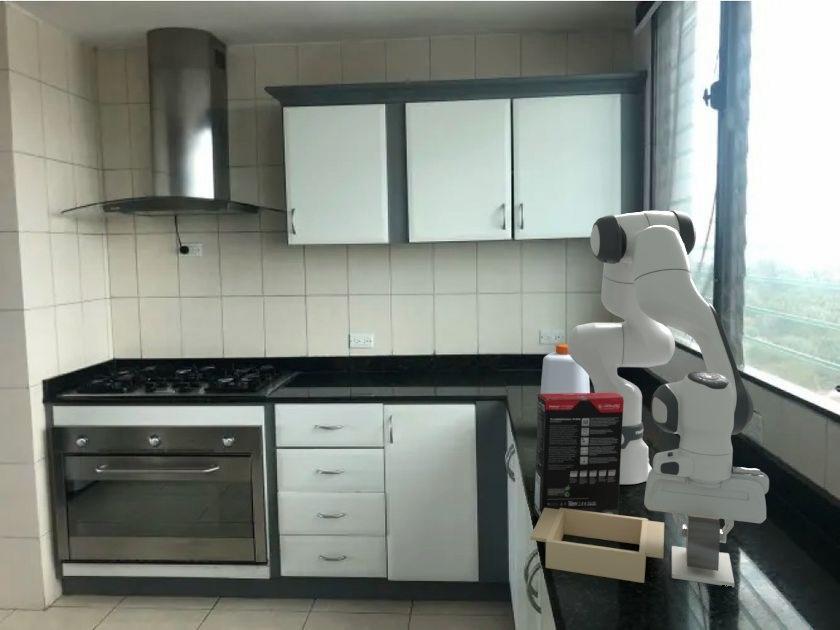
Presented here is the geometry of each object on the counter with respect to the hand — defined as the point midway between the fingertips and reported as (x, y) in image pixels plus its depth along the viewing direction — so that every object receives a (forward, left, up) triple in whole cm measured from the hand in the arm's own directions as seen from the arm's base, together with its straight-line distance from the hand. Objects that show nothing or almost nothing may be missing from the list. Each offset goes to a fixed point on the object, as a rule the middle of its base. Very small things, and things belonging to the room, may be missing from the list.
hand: (701, 538), depth 125 cm
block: (0, 0, -3) cm, 3 cm away
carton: (+1, -18, -5) cm, 19 cm away
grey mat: (0, 0, -5) cm, 5 cm away
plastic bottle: (-81, -36, -6) cm, 89 cm away
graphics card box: (-15, -24, -6) cm, 29 cm away
